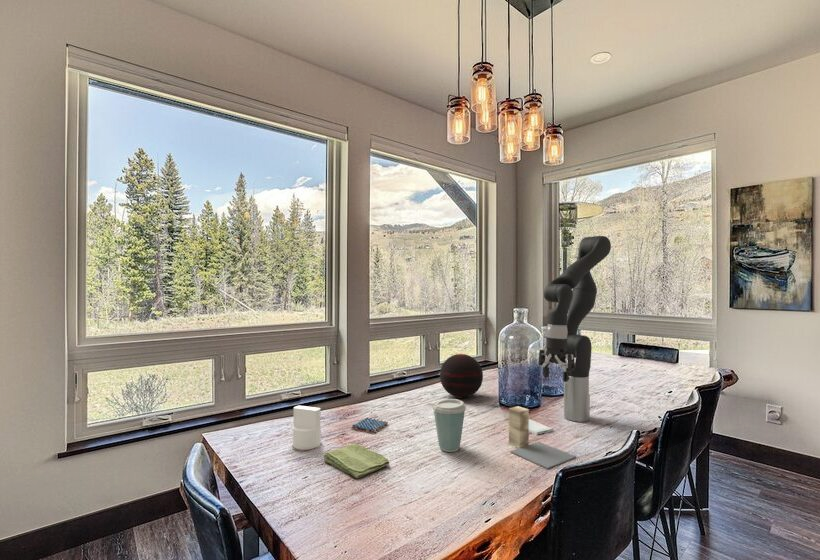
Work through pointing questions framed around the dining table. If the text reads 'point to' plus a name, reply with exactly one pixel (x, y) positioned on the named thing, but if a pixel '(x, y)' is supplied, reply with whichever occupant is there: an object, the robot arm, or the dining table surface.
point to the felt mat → (543, 455)
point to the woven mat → (369, 425)
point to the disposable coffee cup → (449, 423)
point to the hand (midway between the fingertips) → (555, 379)
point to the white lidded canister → (306, 427)
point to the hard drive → (538, 428)
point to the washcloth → (356, 460)
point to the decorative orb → (461, 375)
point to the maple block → (518, 426)
